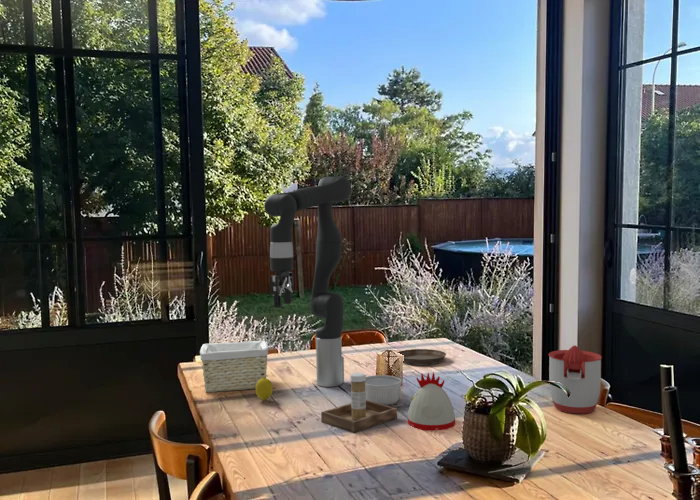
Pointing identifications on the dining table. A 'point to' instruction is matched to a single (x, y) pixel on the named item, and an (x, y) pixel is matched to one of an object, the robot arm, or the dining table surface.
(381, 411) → the serving box
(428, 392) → the kitchen timer
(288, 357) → the dining table surface
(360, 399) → the sprinkles bottle
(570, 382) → the citrus juicer
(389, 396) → the ramekin
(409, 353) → the plant saucer
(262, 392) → the lemon
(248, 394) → the dining table surface
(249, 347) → the storage basket
